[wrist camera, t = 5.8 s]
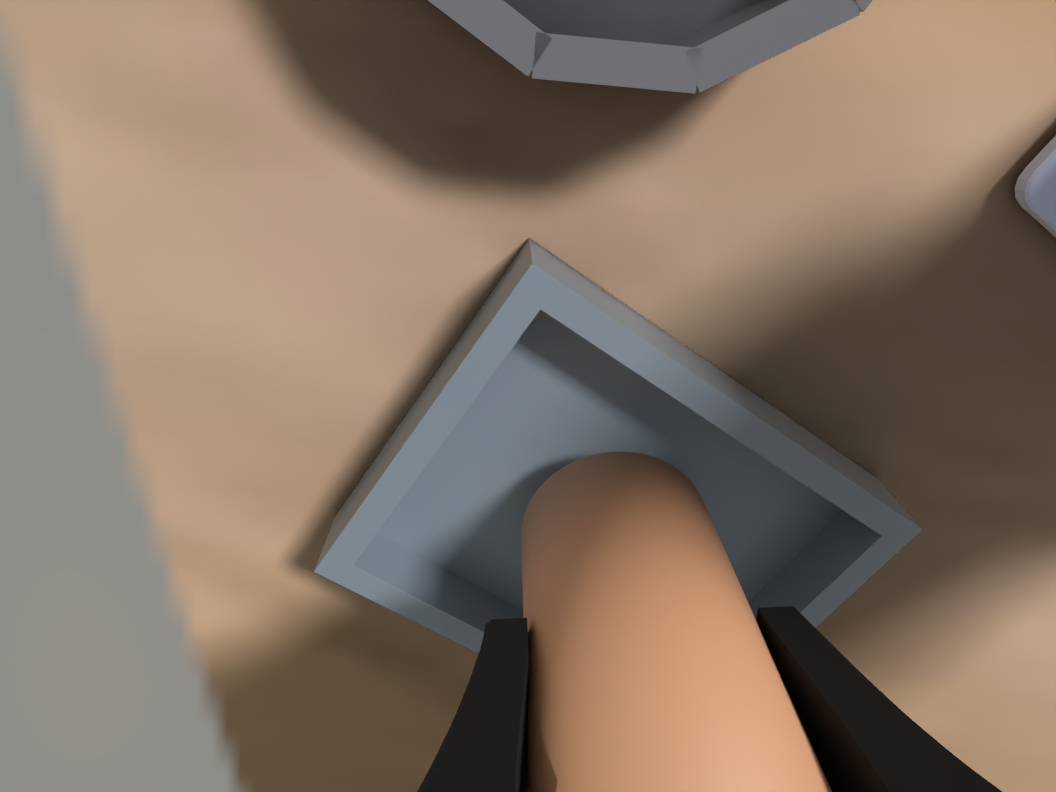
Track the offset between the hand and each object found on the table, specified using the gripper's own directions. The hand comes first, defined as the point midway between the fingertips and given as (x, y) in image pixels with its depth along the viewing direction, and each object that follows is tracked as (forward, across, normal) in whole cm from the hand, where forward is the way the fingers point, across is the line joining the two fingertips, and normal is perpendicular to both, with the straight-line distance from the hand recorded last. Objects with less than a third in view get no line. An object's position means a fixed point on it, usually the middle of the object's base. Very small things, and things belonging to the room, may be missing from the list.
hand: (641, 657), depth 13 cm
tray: (+5, 0, 0) cm, 5 cm away
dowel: (+3, 0, 0) cm, 3 cm away
